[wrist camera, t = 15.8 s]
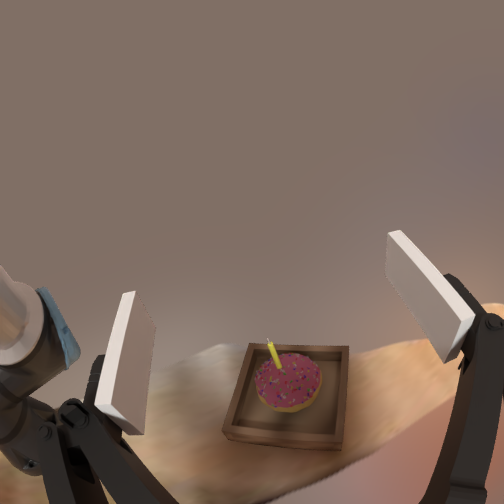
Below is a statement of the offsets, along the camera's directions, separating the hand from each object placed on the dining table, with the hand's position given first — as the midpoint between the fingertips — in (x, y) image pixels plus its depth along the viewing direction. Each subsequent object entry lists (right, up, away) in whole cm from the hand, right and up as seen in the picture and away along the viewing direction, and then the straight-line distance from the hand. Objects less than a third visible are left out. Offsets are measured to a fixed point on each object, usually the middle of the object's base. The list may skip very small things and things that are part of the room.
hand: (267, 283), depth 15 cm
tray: (+5, -19, +24) cm, 32 cm away
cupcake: (+5, -19, +24) cm, 31 cm away
